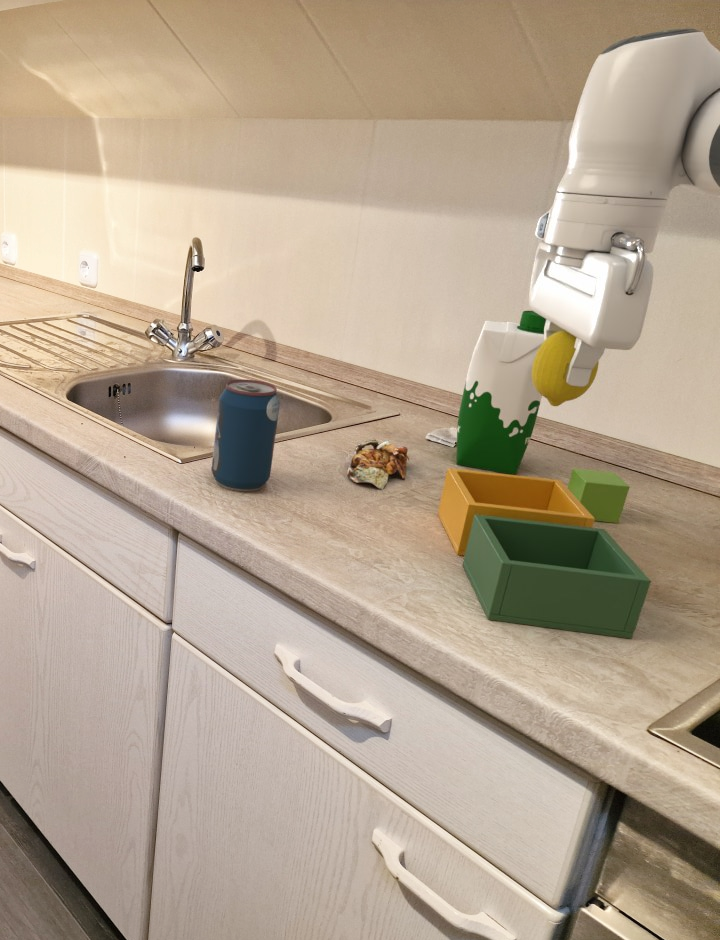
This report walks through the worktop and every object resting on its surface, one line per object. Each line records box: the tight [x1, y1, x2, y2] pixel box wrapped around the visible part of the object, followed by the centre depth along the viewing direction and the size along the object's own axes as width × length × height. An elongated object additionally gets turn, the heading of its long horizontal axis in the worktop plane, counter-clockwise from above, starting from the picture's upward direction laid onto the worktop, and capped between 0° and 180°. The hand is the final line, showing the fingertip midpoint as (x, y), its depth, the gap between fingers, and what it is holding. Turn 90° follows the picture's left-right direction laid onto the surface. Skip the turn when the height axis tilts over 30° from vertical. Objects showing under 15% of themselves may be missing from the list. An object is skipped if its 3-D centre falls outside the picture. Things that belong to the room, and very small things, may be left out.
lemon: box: [532, 330, 600, 407], centre depth 83 cm, size 6×6×8 cm
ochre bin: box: [437, 467, 595, 556], centre depth 89 cm, size 12×11×6 cm
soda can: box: [210, 379, 281, 493], centre depth 100 cm, size 7×7×12 cm
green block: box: [567, 467, 630, 524], centre depth 97 cm, size 4×4×4 cm
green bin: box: [461, 514, 652, 640], centre depth 77 cm, size 12×11×6 cm
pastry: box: [346, 437, 410, 490], centre depth 107 cm, size 7×12×4 cm, turn 156°
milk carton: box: [456, 310, 546, 475], centre depth 109 cm, size 9×9×20 cm
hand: (562, 375), depth 83 cm, fingers closed on lemon, 5 cm apart
